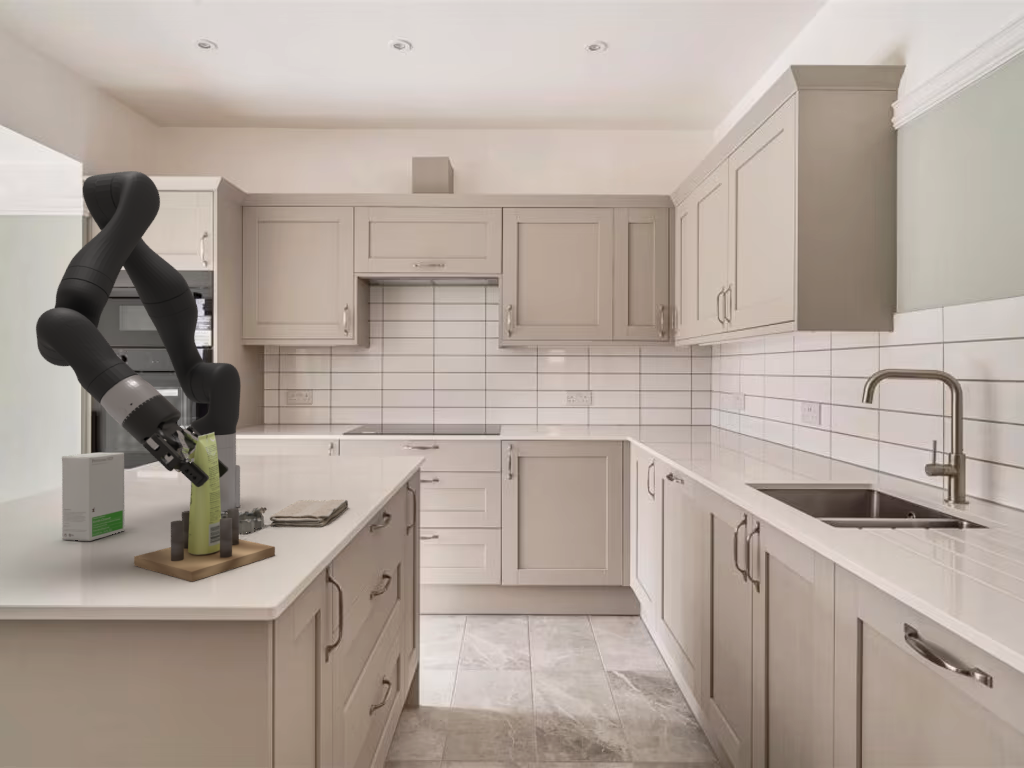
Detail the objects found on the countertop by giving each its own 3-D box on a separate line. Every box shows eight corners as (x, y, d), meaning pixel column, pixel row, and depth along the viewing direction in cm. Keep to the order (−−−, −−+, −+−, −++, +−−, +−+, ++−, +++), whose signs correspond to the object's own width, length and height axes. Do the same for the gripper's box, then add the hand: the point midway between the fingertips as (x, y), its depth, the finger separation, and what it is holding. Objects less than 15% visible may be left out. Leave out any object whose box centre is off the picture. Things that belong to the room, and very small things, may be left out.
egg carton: (269, 527, 123) (269, 507, 123) (245, 536, 116) (245, 515, 116) (223, 523, 126) (223, 503, 126) (197, 532, 118) (197, 512, 118)
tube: (181, 550, 100) (183, 433, 100) (212, 544, 104) (214, 431, 104) (195, 558, 97) (197, 436, 96) (227, 551, 100) (229, 434, 100)
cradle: (218, 542, 111) (218, 502, 110) (274, 555, 103) (274, 511, 103) (134, 565, 97) (133, 519, 97) (191, 581, 90) (191, 531, 90)
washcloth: (266, 529, 122) (266, 514, 122) (297, 509, 140) (297, 496, 140) (326, 529, 122) (326, 514, 122) (348, 509, 140) (348, 496, 140)
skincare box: (89, 542, 110) (88, 457, 110) (59, 540, 112) (58, 456, 111) (126, 530, 119) (126, 451, 118) (98, 528, 120) (98, 450, 120)
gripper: (136, 394, 92) (215, 469, 93) (177, 391, 106) (245, 456, 108) (99, 429, 91) (179, 503, 93) (145, 422, 106) (214, 486, 107)
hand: (214, 478), depth 100 cm, fingers open, 8 cm apart
